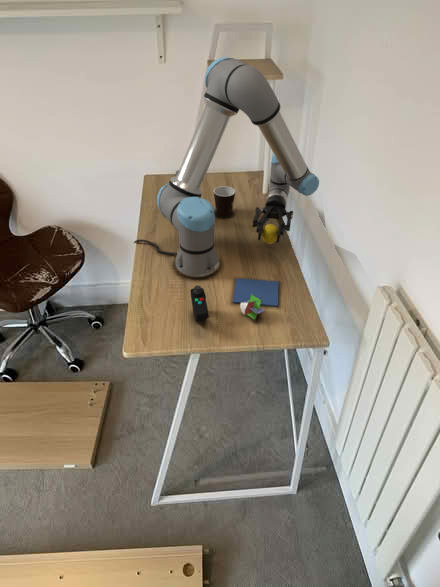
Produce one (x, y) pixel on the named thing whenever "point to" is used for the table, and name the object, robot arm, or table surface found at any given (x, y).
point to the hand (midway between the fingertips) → (268, 237)
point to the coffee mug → (224, 200)
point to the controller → (199, 304)
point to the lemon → (269, 233)
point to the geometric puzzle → (252, 307)
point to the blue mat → (256, 291)
